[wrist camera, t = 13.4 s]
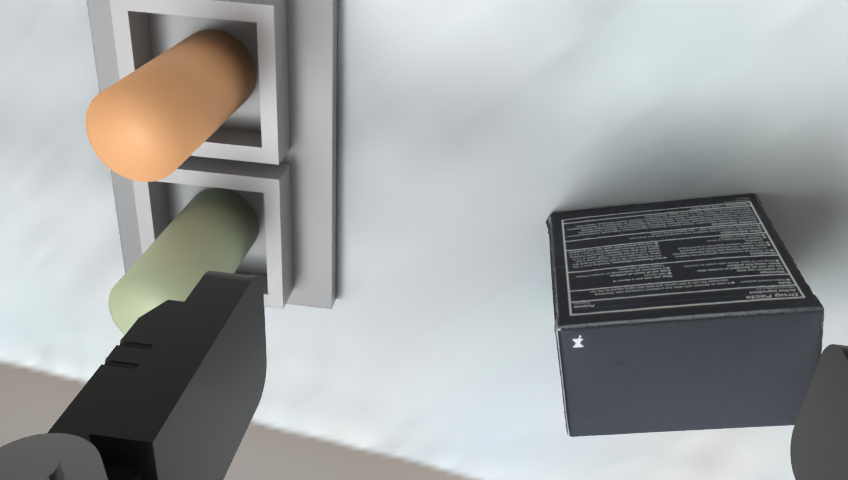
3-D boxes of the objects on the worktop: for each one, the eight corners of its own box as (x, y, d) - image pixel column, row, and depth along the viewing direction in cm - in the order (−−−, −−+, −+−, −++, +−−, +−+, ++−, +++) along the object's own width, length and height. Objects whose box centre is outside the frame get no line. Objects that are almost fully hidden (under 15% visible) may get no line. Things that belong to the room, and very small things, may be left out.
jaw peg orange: (173, 25, 38) (79, 80, 30) (254, 33, 38) (180, 90, 30) (180, 105, 40) (93, 176, 32) (257, 113, 39) (189, 186, 32)
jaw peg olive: (184, 184, 42) (103, 269, 34) (257, 192, 42) (192, 279, 34) (190, 250, 44) (114, 344, 36) (260, 258, 43) (199, 355, 36)
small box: (557, 315, 44) (563, 445, 35) (545, 211, 41) (548, 323, 32) (756, 300, 42) (819, 434, 33) (759, 189, 39) (828, 302, 30)
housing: (91, -47, 38) (57, -37, 35) (337, -26, 37) (322, -14, 34) (134, 275, 46) (110, 303, 44) (335, 299, 45) (323, 329, 43)
